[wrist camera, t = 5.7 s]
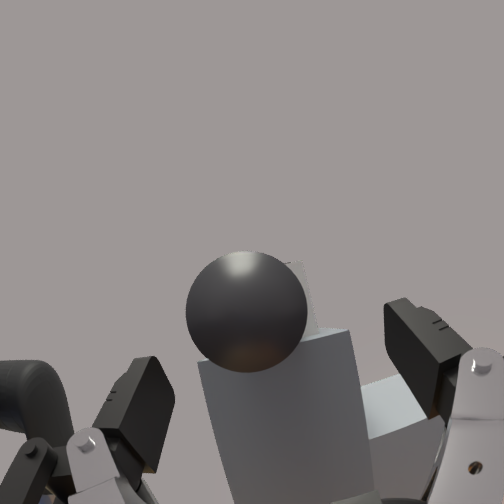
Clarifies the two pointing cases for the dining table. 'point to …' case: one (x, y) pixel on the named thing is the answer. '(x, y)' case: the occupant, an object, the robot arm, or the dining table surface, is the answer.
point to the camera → (250, 311)
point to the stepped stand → (318, 428)
